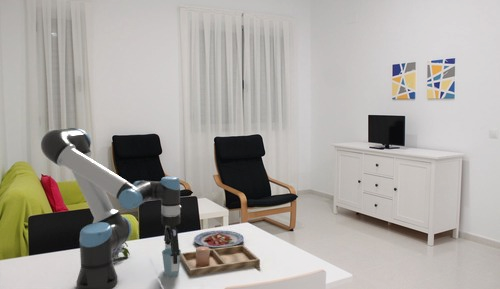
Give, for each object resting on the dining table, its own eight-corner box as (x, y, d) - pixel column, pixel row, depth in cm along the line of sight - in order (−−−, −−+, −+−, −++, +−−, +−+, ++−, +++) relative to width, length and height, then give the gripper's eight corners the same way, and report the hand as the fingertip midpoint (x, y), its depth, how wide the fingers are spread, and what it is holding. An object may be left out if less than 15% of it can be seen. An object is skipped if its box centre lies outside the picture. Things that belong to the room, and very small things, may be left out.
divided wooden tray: (190, 278, 167) (190, 270, 167) (179, 260, 186) (179, 253, 185) (259, 267, 179) (259, 259, 178) (243, 252, 197) (243, 245, 197)
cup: (183, 277, 168) (183, 253, 167) (164, 280, 165) (164, 255, 164) (178, 270, 175) (178, 247, 174) (160, 273, 172) (160, 249, 171)
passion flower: (110, 272, 185) (93, 254, 182) (115, 259, 196) (99, 241, 192) (131, 259, 185) (114, 240, 181) (134, 246, 195) (118, 228, 191)
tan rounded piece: (197, 267, 175) (197, 252, 175) (194, 262, 181) (194, 247, 180) (211, 265, 178) (211, 250, 177) (207, 260, 183) (207, 245, 182)
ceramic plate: (184, 241, 213) (184, 235, 212) (222, 231, 230) (222, 226, 230) (214, 255, 194) (214, 249, 193) (254, 242, 211) (254, 237, 211)
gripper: (186, 221, 157) (187, 274, 159) (174, 206, 180) (174, 253, 182) (167, 223, 154) (168, 277, 157) (156, 208, 177) (157, 255, 179)
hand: (171, 264), depth 169 cm, fingers open, 12 cm apart
